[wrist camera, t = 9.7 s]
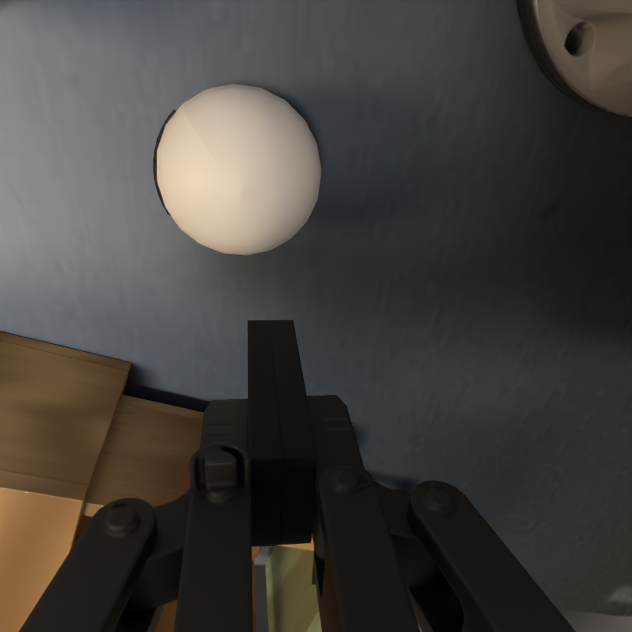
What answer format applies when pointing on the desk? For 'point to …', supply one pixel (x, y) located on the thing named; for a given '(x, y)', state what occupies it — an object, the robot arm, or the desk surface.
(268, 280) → the desk surface
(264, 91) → the cream egg
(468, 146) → the desk surface
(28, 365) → the cabinet
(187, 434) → the drawer
